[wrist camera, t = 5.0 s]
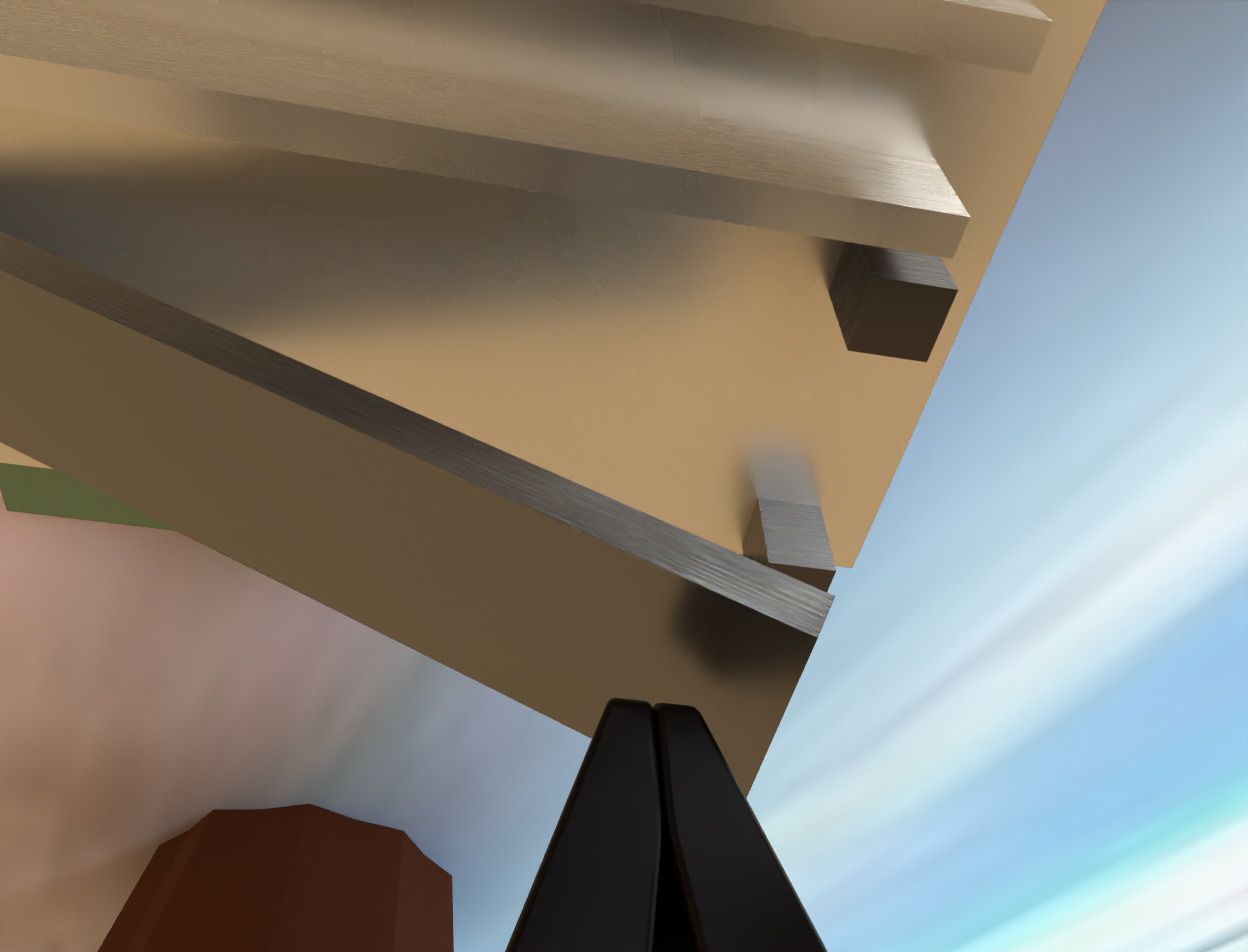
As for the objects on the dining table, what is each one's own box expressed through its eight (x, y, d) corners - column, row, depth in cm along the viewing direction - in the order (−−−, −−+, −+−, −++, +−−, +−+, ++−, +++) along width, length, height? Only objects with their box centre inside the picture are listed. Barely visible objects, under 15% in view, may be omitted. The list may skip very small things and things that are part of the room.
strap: (-84, 360, 14) (-163, 396, 13) (-147, 166, 12) (-243, 194, 11) (757, 770, 11) (724, 850, 10) (834, 596, 9) (801, 676, 8)
